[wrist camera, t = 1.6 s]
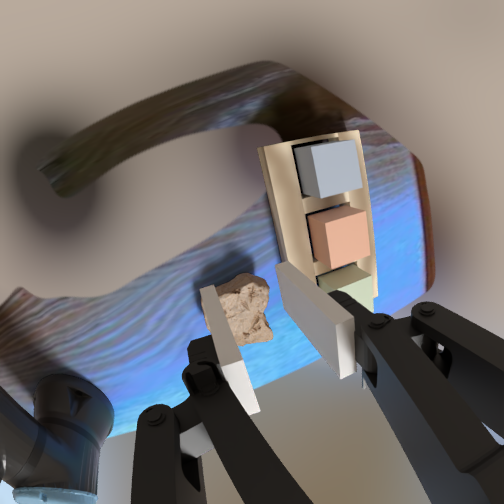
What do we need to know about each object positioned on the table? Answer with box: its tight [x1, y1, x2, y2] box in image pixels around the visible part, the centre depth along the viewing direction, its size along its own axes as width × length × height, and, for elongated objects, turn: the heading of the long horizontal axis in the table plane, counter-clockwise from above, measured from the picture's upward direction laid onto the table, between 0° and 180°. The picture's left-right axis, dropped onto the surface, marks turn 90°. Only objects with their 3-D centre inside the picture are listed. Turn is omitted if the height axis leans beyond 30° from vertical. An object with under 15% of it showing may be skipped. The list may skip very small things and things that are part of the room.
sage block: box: [318, 264, 374, 313], centre depth 42 cm, size 6×6×5 cm
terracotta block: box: [307, 205, 370, 269], centre depth 39 cm, size 6×6×5 cm
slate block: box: [294, 139, 363, 198], centre depth 36 cm, size 6×6×5 cm
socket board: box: [257, 130, 378, 298], centre depth 42 cm, size 14×26×3 cm, turn 14°
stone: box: [201, 273, 273, 346], centre depth 42 cm, size 9×11×5 cm
